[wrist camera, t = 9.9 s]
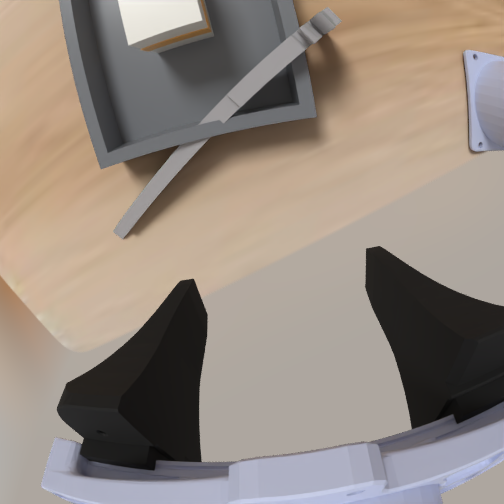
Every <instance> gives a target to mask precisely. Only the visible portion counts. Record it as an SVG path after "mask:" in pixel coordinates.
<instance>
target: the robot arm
mask: <svg viewBox="0 0 504 504" xmlns="http://www.w3.org/2000/svg"><path fill="white" fill-rule="evenodd" d="M473 55H474V57H475V59H474V58H473ZM463 56H464V63H465V72H466V81H467V92H468V107H469V146H470V149H471V150H473V151H496V150H504V57H501V56H497V55H492V54H488V53H483V52H477V51H472V50H465V51H464V53H463ZM479 142H480V146H479V147H478V144H479ZM365 287H366V291H367V294H368V297H369V300H370V303H371V305H372V308H373V310H374V312H375V314H376V317H377V318H378V321H379V323H380V325H381V327H382V329H383V331H384V333H385V335H386V337H387V339H388V341H389V344H390V346H391V348H392V351H393V353H394V356H395V359H396V362H397V366H398V369H399V372H400V375H401V380H402V383H403V387H404V391H405V395H406V400H407V404H408V409H409V414H410V420H411V426H412V430H409V431H406V432H402V433H399V434H396V435H393V436H389V437H386V438H382V439H379V440H375V441H371V442H357V443H350V444H344V445H339V446H334V447H329V448H324V449H317V450H311V451H305V452H298V453H291V454H283V455H273V456H263V457H255V458H248V459H242V460H240V461H236V462H202V461H201V450H200V432H199V387H200V378H201V371H202V365H203V358H204V352H205V345H206V339H207V312H206V309H205V307H204V304H203V302H202V299H201V297H200V294H199V291H198V289H197V286H196V283H195V281H194V279H189V280H183V281H180V282H179V283H178V284H177V285H176V286H175V288H174V289H173V290H172V291H171V293H170V294H169V295H168V297H167V298H166V299H165V300H164V302H163V303H162V304H161V305H160V307H159V308H158V309H157V310H156V312H155V313H154V314H153V315H152V316H151V317H150V319H149V320H148V321H147V322H146V323H145V324H144V325H143V327H142V328H141V329H140V330H139V331H138V332H137V333H136V334H135V335H134V336H133V337H132V338H131V339H130V340H129V341H128V342H126V343H125V344H124V345H123V346H122V347H121V348H120V349H118V350H117V351H116V352H115V353H114V354H112V355H111V356H110V357H108V358H107V359H106V360H104V361H103V362H102V363H100V364H99V365H97V366H96V367H94V368H93V369H91V370H89V371H88V372H86V373H85V374H83V375H81V376H79V377H77V378H75V379H74V380H72V381H70V382H68V383H67V384H66V386H65V389H64V391H63V394H62V396H61V399H60V402H59V404H58V407H57V412H58V414H59V416H60V417H61V418H62V420H63V421H64V422H65V423H66V424H68V425H69V426H70V427H71V428H72V429H74V430H75V431H76V432H77V433H79V434H80V435H81V436H82V437H83V438H84V440H83V443H82V444H80V443H78V442H76V441H72V440H67V439H63V438H58V437H56V438H55V439H54V443H53V446H52V449H51V452H50V455H49V459H48V462H47V465H46V469H45V472H44V476H43V480H42V484H41V487H42V488H43V489H45V490H47V491H49V492H51V493H53V494H55V495H57V496H59V497H60V498H63V499H65V500H67V501H69V502H71V503H73V504H443V502H442V498H441V494H442V493H444V492H446V491H448V490H451V489H453V488H455V487H457V486H459V485H461V484H463V483H465V482H467V481H469V480H471V479H472V478H474V477H476V476H478V475H480V474H481V473H483V472H485V471H487V470H488V469H490V468H492V467H493V466H495V465H497V464H498V463H500V462H502V461H503V460H504V306H499V305H494V304H491V303H488V302H484V301H481V300H478V299H474V298H471V297H469V296H466V295H464V294H461V293H459V292H456V291H454V290H452V289H450V288H447V287H446V286H444V285H441V284H439V283H437V282H436V281H434V280H432V279H430V278H428V277H427V276H425V275H423V274H421V273H420V272H418V271H417V270H415V269H414V268H412V267H411V266H409V265H408V264H406V263H404V262H403V261H402V260H400V259H399V258H397V257H396V256H394V255H392V254H391V253H390V252H388V251H387V250H385V249H384V248H382V247H380V246H378V247H372V248H367V249H366V284H365Z"/></svg>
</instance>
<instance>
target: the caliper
mask: <svg viewBox="0 0 504 504" xmlns="http://www.w3.org/2000/svg"><path fill="white" fill-rule="evenodd" d="M340 22H342V21H341V20H340V19H339V18H338V17H337V16H336V15H335V14H334V13H333V12H332V11H331V10H330V9H329V8H328V7H327V8H325V9H324V10H322V11H321V12H319V13H318V14H316V15H315V16H314V17H313V18H312V19H311V20H310V21H308V22H307V23H305V24H304V25H302V26H301V27H300V28H299V29H298V30H297V31H296V32H295V33H294V34H292V35H291V36H290V37H288V38H287V39H286V40H285V41H284V42H283V43H281V44H280V45H279V46H278V47H277V48H276V49H274V50H273V51H272V52H271V53H270V54H269V55H268V56H267V57H265V58H264V59H263V60H262V61H261V62H260V63H259V64H258V65H257V66H256V67H255V68H253V69H252V70H251V71H250V72H249V73H248V74H247V75H246V76H245V77H244V78H243V79H242V80H241V81H240V82H239V83H238V84H237V85H236V86H235V87H234V88H233V89H232V90H231V91H230V92H229V93H228V94H227V95H226V96H225V97H224V98H223V99H222V100H221V101H220V102H219V103H218V104H217V105H216V106H215V107H214V108H213V109H212V110H211V111H210V112H209V114H208V115H207V116H206V117H205V118H204V119H203V120H202V121H201V122H200V123H199V124H203V123H208V122H212V121H216V120H220V121H221V122H222V123H225V122H226V121H227V120H228V119H229V118H230V117H231V116H232V115H233V114H234V113H235V112H236V111H237V110H238V109H239V108H240V107H242V106H243V105H244V104H245V103H246V102H247V101H248V100H249V99H250V98H251V97H252V96H253V95H254V94H255V93H256V92H258V91H259V90H260V89H261V88H262V87H263V86H264V85H265V84H266V83H267V82H268V81H270V80H271V79H272V78H273V77H274V76H275V75H276V74H277V73H279V72H280V71H281V70H282V69H283V68H284V67H286V66H287V65H288V64H289V63H290V62H291V61H293V60H294V59H295V58H296V57H297V56H298V55H300V54H301V53H302V52H303V51H305V50H306V48H308V47H309V46H310V45H312V44H315V43H316V42H317V41H318V40H319V39H320V38H321V37H322V36H323V35H324V34H326V33H328V32H329V31H331V30H332V29H334V28H335V26H336V25H338V24H339V23H340ZM199 124H198V125H199ZM209 138H210V137H208V138H204V139H200V140H196V141H192V142H188V143H184V144H180V146H179V147H178V148H177V149H176V150H175V151H174V153H173V154H172V155H171V156H170V157H169V159H168V160H167V161H166V162H165V163H164V165H163V166H162V167H161V168H160V169H159V171H158V172H157V173H156V174H155V176H154V177H153V178H152V179H151V181H150V182H149V183H148V184H147V186H146V187H145V188H144V189H143V191H142V192H141V193H140V195H139V196H138V197H137V199H136V200H135V201H134V203H133V204H132V205H131V207H130V208H129V209H128V211H127V212H126V213H125V215H124V216H123V217H122V219H121V220H120V222H119V223H118V224H117V226H116V228H115V229H114V230H113V232H114V233H115V234H117V235H118V236H119V237H120V238H122V239H123V238H124V237H125V235H127V233H128V232H129V231H130V229H131V228H132V227H133V226H134V224H135V223H136V222H137V221H138V219H139V218H140V217H141V216H142V214H143V213H144V212H145V211H146V209H147V208H148V207H149V206H150V205H151V203H152V202H153V201H154V200H155V199H156V197H157V196H158V195H159V194H160V193H161V191H162V190H163V189H164V188H165V187H166V186H167V184H168V183H169V182H170V181H171V180H172V179H173V178H174V176H175V175H176V174H177V173H178V172H179V171H180V170H181V169H182V167H183V166H184V165H185V164H186V163H187V162H188V161H189V160H190V159H191V157H192V156H193V155H194V154H195V153H196V152H197V151H198V150H199V149H200V148H201V147H202V146H203V145H204V144H205V142H206V141H207V140H208V139H209Z"/></svg>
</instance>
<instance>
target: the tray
mask: <svg viewBox="0 0 504 504" xmlns="http://www.w3.org/2000/svg"><path fill="white" fill-rule="evenodd" d="M59 3H60V10H61V16H62V22H63V28H64V34H65V39H66V44H67V49H68V54H69V59H70V63H71V68H72V72H73V76H74V80H75V84H76V88H77V92H78V96H79V100H80V103H81V107H82V111H83V114H84V118H85V121H86V124H87V128H88V131H89V134H90V138H91V141H92V144H93V147H94V150H95V153H96V156H97V159H98V162H99V165H100V168H101V169H103V168H106V167H109V166H112V165H115V164H118V163H121V162H124V161H127V160H130V159H133V158H136V157H139V156H142V155H146V154H149V153H152V152H156V151H159V150H162V149H166V148H169V147H173V146H177V145H180V144H184V143H188V142H192V141H196V140H200V139H204V138H208V137H212V136H216V135H220V134H225V133H229V132H234V131H239V130H243V129H248V128H253V127H259V126H264V125H269V124H275V123H281V122H287V121H293V120H300V119H306V118H314V117H317V114H316V108H315V103H314V97H313V91H312V86H311V80H310V75H309V70H308V65H307V60H306V55H305V51H303V52H302V53H301V54H300V55H298V56H297V57H296V58H295V59H294V60H293V61H291V62H290V63H289V64H288V65H287V66H286V67H284V68H283V69H282V70H281V71H280V72H279V73H277V74H276V75H275V76H274V77H273V78H272V79H271V80H270V81H268V82H267V83H266V84H265V85H264V86H263V87H262V88H261V89H260V90H259V91H258V92H256V93H255V94H254V95H253V96H252V97H251V98H250V99H249V100H248V101H247V102H246V103H245V104H244V105H243V106H242V107H240V108H239V109H238V110H237V111H236V112H235V113H234V114H233V115H232V116H231V117H230V118H229V119H228V120H227V121H226V122H225V123H222V122H221V121H220V120H216V121H212V122H208V123H203V124H199V123H200V122H201V121H202V120H203V119H204V118H205V117H206V116H207V115H208V114H209V112H210V111H211V110H212V109H213V108H214V107H215V106H216V105H217V104H218V103H219V102H220V101H221V100H222V99H223V98H224V97H225V96H226V95H227V94H228V93H229V92H230V91H231V90H232V89H233V88H234V87H235V86H236V85H237V84H238V83H239V82H240V81H241V80H242V79H243V78H244V77H245V76H246V75H247V74H248V73H249V72H250V71H251V70H252V69H253V68H255V67H256V66H257V65H258V64H259V63H260V62H261V61H262V60H263V59H264V58H265V57H267V56H268V55H269V54H270V53H271V52H272V51H273V50H274V49H276V48H277V47H278V46H279V45H280V44H281V43H283V42H284V41H285V40H286V39H287V38H288V37H290V36H291V35H292V34H294V33H295V32H296V31H297V30H298V29H299V24H298V20H297V16H296V12H295V8H294V4H293V0H205V3H206V6H207V10H208V14H209V18H210V22H211V25H212V29H213V33H214V37H210V38H206V39H203V40H199V41H195V42H192V43H189V44H185V45H182V46H179V47H176V48H172V49H169V50H166V51H164V52H161V53H155V52H152V51H149V52H147V51H143V50H141V49H140V48H136V47H132V46H128V42H127V38H126V34H125V29H124V25H123V21H122V17H121V12H120V8H119V3H118V0H59ZM198 124H199V125H198Z"/></svg>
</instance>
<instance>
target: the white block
mask: <svg viewBox="0 0 504 504" xmlns="http://www.w3.org/2000/svg"><path fill="white" fill-rule="evenodd" d="M118 3H119V8H120V12H121V17H122V21H123V25H124V29H125V34H126V38H127V42H128V46H132V47H136V48H140V49H141V50H143V51H147V52H149V51H152V52H155V53H161V52H164V51H166V50H169V49H172V48H176V47H179V46H182V45H185V44H189V43H192V42H195V41H199V40H203V39H206V38H210V37H214V33H213V29H212V25H211V22H210V18H209V14H208V10H207V6H206V3H205V0H118Z"/></svg>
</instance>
